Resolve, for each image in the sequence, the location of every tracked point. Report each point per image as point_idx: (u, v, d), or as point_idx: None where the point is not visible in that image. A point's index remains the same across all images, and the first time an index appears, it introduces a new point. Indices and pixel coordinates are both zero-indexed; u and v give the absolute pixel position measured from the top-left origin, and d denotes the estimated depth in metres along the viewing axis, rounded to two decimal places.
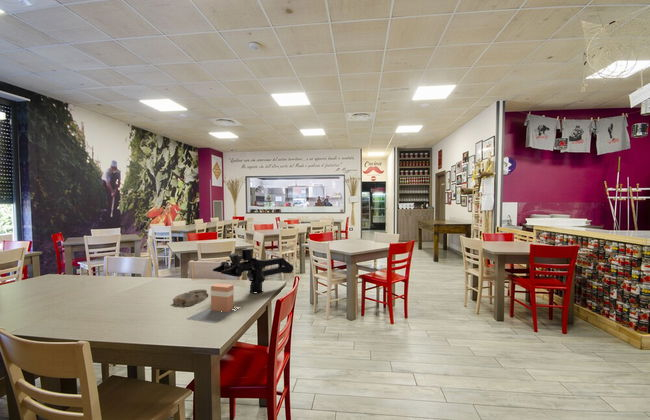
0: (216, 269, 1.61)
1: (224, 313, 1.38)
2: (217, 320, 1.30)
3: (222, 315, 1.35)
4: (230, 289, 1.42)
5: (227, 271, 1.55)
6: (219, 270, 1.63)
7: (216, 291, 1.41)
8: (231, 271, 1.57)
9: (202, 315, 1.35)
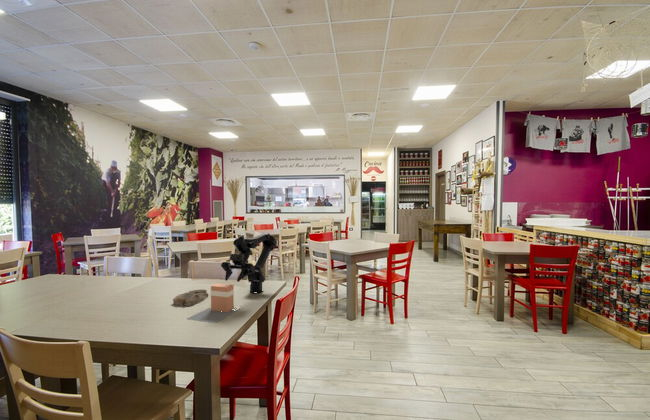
0: (227, 277, 1.54)
1: (224, 313, 1.38)
2: (217, 320, 1.30)
3: (222, 315, 1.35)
4: (230, 289, 1.42)
5: (241, 276, 1.52)
6: (229, 275, 1.56)
7: (216, 291, 1.41)
8: (243, 272, 1.54)
9: (202, 315, 1.35)
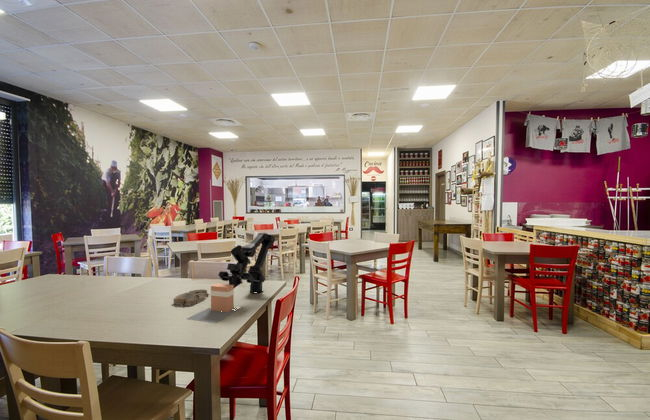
0: None
1: (224, 313, 1.38)
2: (217, 320, 1.30)
3: (222, 315, 1.35)
4: (230, 289, 1.42)
5: None
6: None
7: (216, 291, 1.41)
8: (235, 282, 1.52)
9: (202, 315, 1.35)
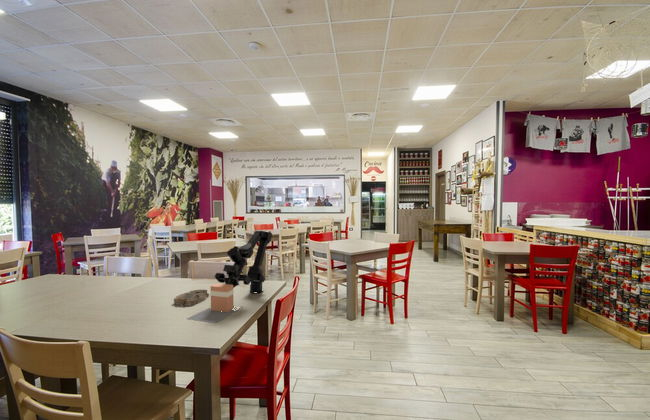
0: None
1: (224, 313, 1.38)
2: (217, 320, 1.30)
3: (222, 315, 1.35)
4: (230, 289, 1.42)
5: None
6: None
7: (216, 291, 1.41)
8: (232, 284, 1.49)
9: (202, 315, 1.35)
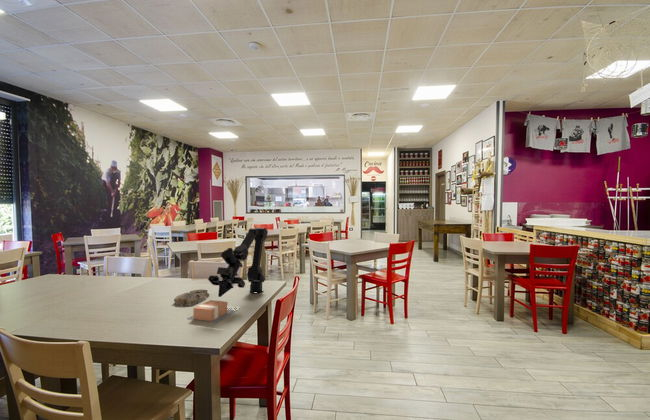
0: None
1: None
2: (217, 320, 1.30)
3: (222, 315, 1.35)
4: (213, 314, 1.30)
5: (224, 290, 1.43)
6: None
7: None
8: (226, 287, 1.45)
9: None
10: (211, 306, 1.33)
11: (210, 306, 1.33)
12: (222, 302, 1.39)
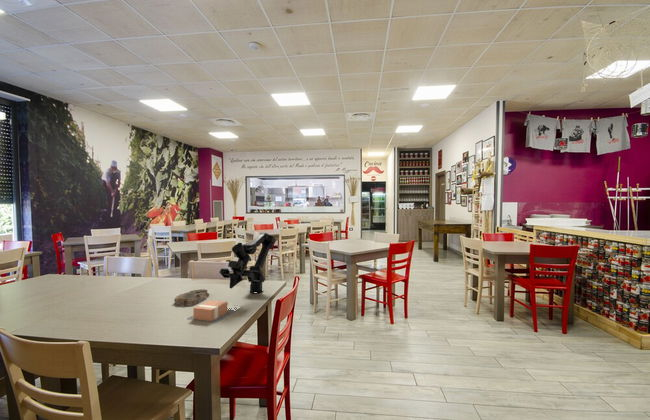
0: None
1: None
2: (217, 320, 1.30)
3: (222, 315, 1.35)
4: (213, 314, 1.30)
5: (234, 282, 1.52)
6: None
7: None
8: (237, 279, 1.53)
9: None
10: (211, 306, 1.33)
11: (210, 306, 1.33)
12: (222, 302, 1.39)
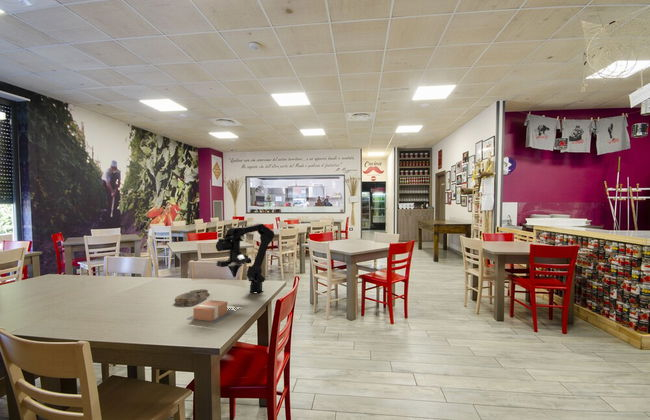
0: None
1: None
2: (217, 320, 1.30)
3: (222, 315, 1.35)
4: (213, 314, 1.30)
5: None
6: None
7: None
8: None
9: None
10: (211, 306, 1.33)
11: (210, 306, 1.33)
12: (222, 302, 1.39)
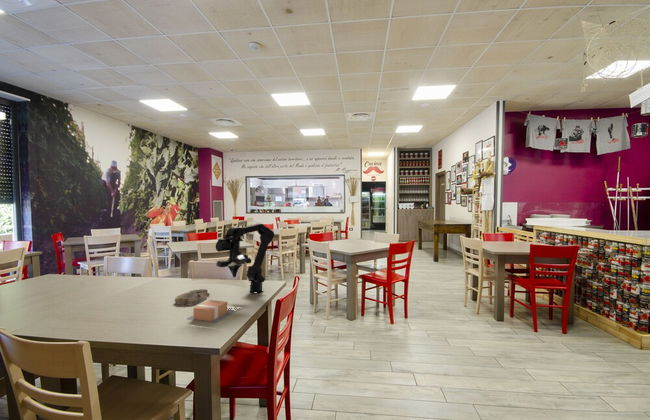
0: None
1: None
2: (217, 320, 1.30)
3: (222, 315, 1.35)
4: (213, 314, 1.30)
5: None
6: None
7: None
8: None
9: None
10: (211, 306, 1.33)
11: (210, 306, 1.33)
12: (222, 302, 1.39)
